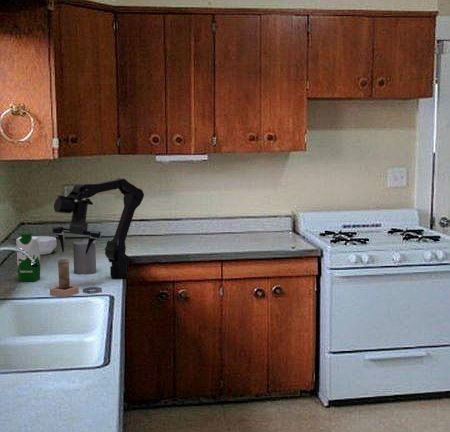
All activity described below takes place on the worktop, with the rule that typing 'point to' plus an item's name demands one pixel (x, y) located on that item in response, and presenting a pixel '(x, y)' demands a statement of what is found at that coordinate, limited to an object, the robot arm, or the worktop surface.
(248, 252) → the worktop surface
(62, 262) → the peg
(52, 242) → the paper bowls
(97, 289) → the washer
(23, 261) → the milk carton
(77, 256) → the pillar candle
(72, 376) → the worktop surface
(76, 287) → the collar
